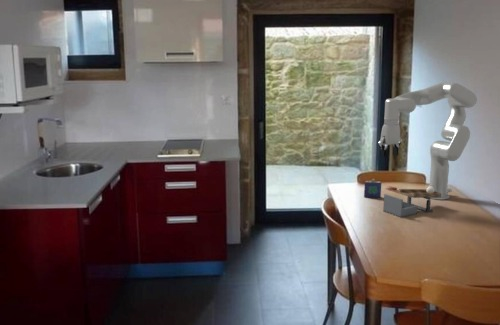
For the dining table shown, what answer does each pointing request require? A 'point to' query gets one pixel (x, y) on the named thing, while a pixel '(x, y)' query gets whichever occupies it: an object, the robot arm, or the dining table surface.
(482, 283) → the dining table surface
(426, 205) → the pivot stand
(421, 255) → the dining table surface
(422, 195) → the brown flat piece
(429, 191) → the ball
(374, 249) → the dining table surface
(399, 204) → the cup
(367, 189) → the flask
